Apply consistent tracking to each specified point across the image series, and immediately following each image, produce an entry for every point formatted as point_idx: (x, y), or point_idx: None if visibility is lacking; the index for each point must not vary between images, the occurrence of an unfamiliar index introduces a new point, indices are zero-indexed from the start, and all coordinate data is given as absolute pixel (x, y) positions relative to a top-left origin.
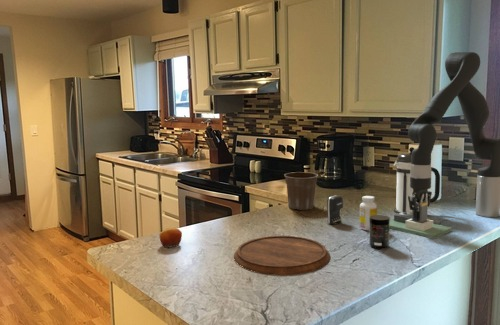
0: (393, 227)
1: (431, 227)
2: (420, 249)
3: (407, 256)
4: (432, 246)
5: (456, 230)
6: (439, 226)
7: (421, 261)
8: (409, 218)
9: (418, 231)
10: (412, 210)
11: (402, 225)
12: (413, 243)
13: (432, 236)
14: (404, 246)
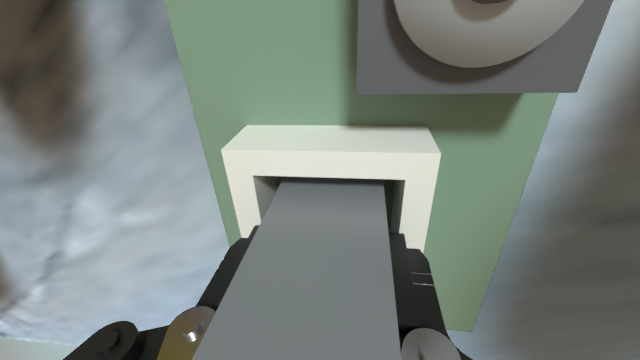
0: (178, 28)
1: None
2: (93, 299)
3: (3, 294)
4: (163, 316)
5: (487, 326)
6: (450, 283)
7: (28, 330)
8: (402, 89)
9: (236, 237)
10: (231, 282)
11: (266, 78)
12: (113, 259)
13: None
14: (48, 249)
